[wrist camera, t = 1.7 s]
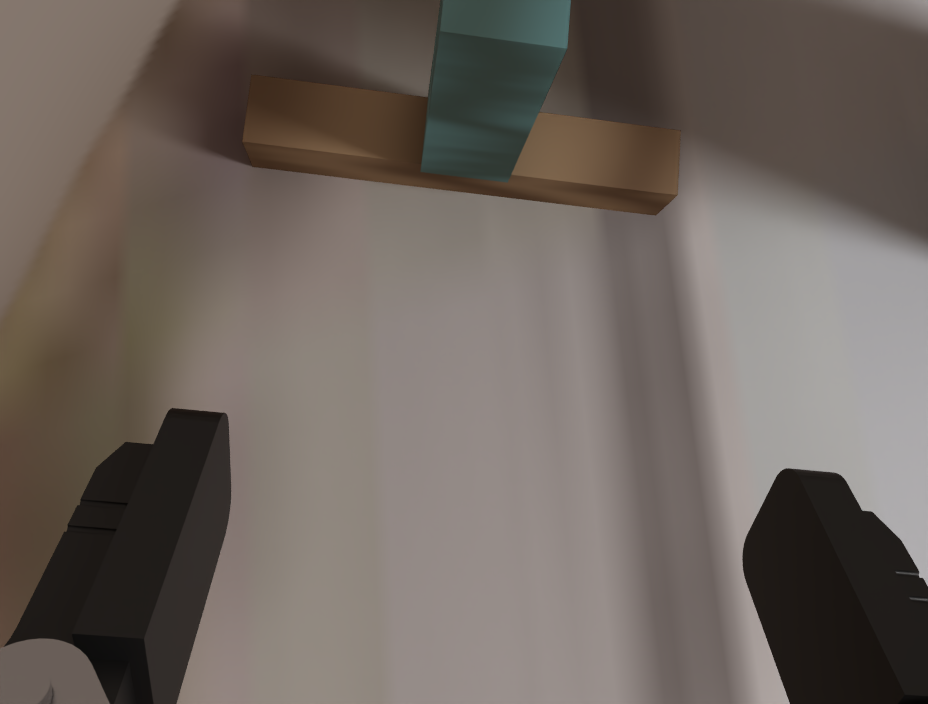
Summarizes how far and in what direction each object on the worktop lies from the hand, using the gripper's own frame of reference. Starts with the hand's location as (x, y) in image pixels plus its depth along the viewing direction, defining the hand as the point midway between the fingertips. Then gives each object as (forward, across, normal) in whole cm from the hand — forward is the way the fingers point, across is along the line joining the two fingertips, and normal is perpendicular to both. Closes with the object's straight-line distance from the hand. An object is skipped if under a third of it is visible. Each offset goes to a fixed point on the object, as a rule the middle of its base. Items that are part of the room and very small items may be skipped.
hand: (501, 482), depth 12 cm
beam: (+20, 0, +4) cm, 21 cm away
